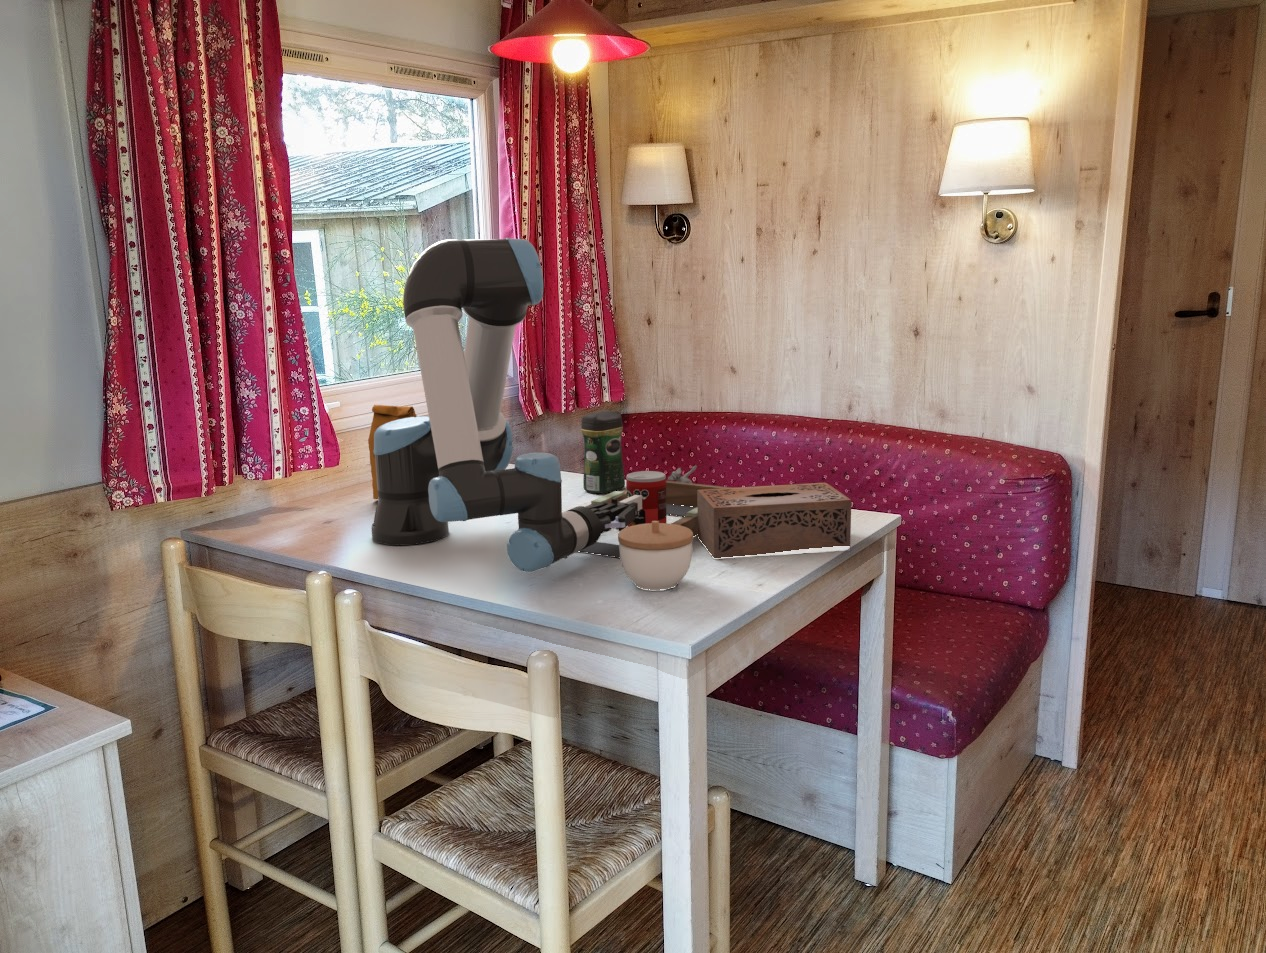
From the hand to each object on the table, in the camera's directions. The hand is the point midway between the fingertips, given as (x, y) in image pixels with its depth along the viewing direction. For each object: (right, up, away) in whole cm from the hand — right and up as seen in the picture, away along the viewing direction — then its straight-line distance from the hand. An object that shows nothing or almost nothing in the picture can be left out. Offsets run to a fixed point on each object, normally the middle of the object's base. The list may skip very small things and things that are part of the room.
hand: (638, 501), depth 206 cm
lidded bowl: (+3, -14, -30) cm, 33 cm away
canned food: (+2, -6, +5) cm, 8 cm away
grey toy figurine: (+11, 0, +32) cm, 33 cm away
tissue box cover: (+25, -8, -8) cm, 28 cm away
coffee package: (-54, -1, +33) cm, 63 cm away
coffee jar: (-8, +2, +38) cm, 39 cm away
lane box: (+1, -6, +5) cm, 8 cm away
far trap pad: (+9, -3, +17) cm, 20 cm away
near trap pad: (-7, -9, -9) cm, 15 cm away
